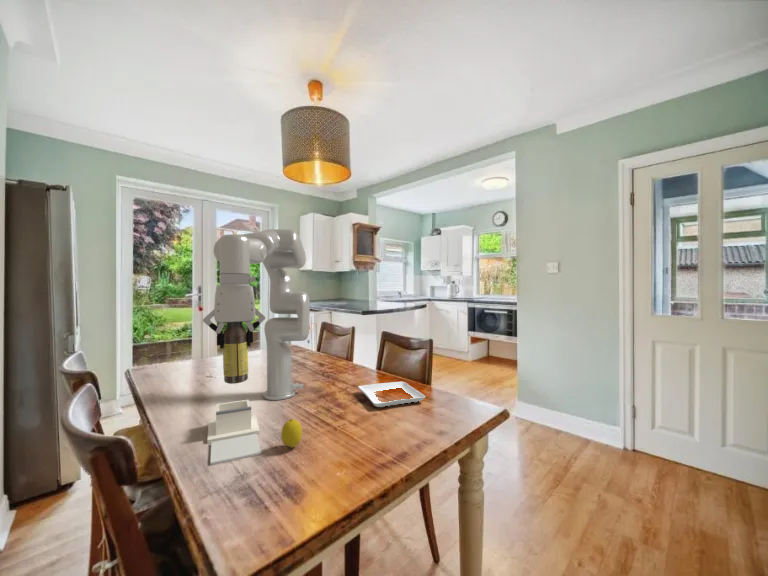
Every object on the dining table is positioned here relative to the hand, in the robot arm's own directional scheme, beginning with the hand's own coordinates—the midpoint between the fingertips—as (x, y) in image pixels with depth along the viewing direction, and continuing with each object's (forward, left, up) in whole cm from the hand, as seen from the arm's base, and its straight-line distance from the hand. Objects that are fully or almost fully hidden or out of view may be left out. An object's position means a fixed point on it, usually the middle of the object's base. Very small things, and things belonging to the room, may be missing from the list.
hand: (235, 345), depth 90 cm
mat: (0, 0, -28) cm, 28 cm away
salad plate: (-57, -17, -29) cm, 66 cm away
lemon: (-14, +6, -29) cm, 32 cm away
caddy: (0, -14, -28) cm, 32 cm away
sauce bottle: (0, 0, -10) cm, 10 cm away
